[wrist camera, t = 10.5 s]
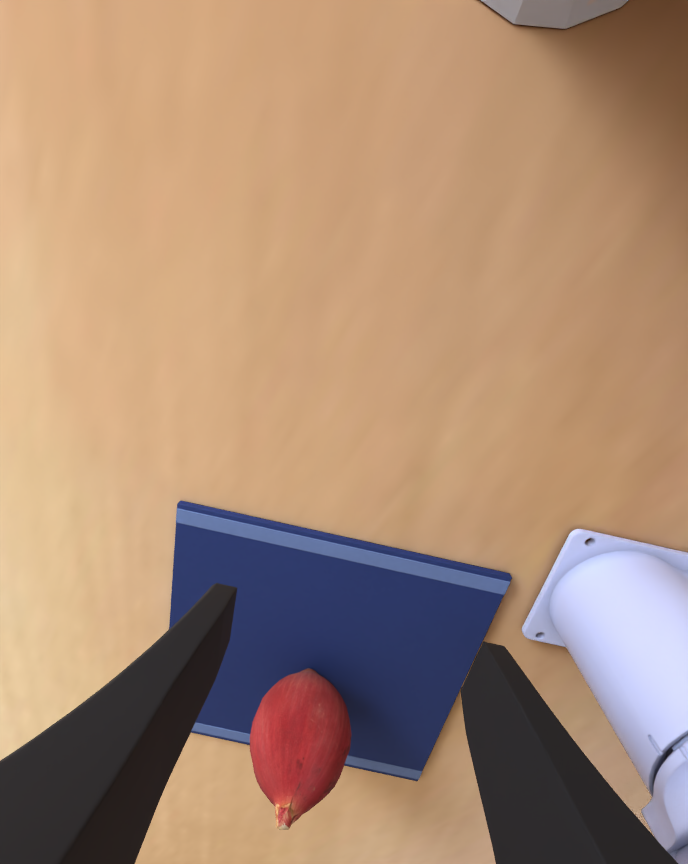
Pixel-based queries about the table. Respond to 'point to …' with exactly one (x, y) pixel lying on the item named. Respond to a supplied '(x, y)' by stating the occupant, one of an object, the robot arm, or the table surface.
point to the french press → (552, 11)
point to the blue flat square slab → (336, 628)
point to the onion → (299, 743)
